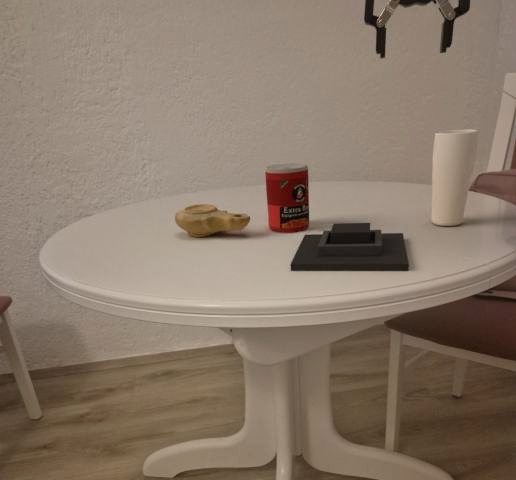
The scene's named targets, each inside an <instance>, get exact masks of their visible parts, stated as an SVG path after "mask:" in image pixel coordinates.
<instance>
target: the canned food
mask: <svg viewBox="0 0 516 480" xmlns="http://www.w3.org/2000/svg"><path fill="white" fill-rule="evenodd" d="M264 175H265V190H266V206H267V221H268V226H269V229H270V230H271V231H273V232H276V233H297V232H302V231H305V230H306V229H308V228H309V224H310V192H309V191H310V190H309V189H310V187H309V182H310V181H309V166H308V164H306V163H302V162H293V163H292V162H289V163H280V164H279V163H277V164H271V165H267V166H266V167H265V174H264Z"/></svg>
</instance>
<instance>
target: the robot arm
mask: <svg viewBox="0 0 516 480" xmlns="http://www.w3.org/2000/svg"><path fill="white" fill-rule="evenodd" d="M430 3H432V4H433V5H434V7H435V9H436V10H437V11H439V13H440V15H441V17H442V18H443V22H442V23H441V31H440V43H439V54H446V53H447V49H449V48H451V47H452V44H453V36H454V26H455V25H454V24H455V21H456V19H458V18H460V17H462V16H465V15H466V14H467V13H468V12H469V11H470V9H471V0H458V3H457V6H456V7H453V6H452V3H450V1H449V0H389V1H388V3H387V4H386V6H385V7H384V8H383V11H382V12H381V14H380V15H379V16H378V15H374V9H375V0H365V2H364V15H363V22H364V25H365V26H369V27H373V28H374V29H375V53H376V55H379V59H386V45H387V27H386V25H387V23H388V21H389V20H390V19H391V18H392V16H393V14H394V12H395V11H396V10H397V8H398V7H399V6H400V7H403V9H404V8H405V9H407V8H411V7H413V6H420V7H425V6H427V5H429V4H430Z"/></svg>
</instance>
